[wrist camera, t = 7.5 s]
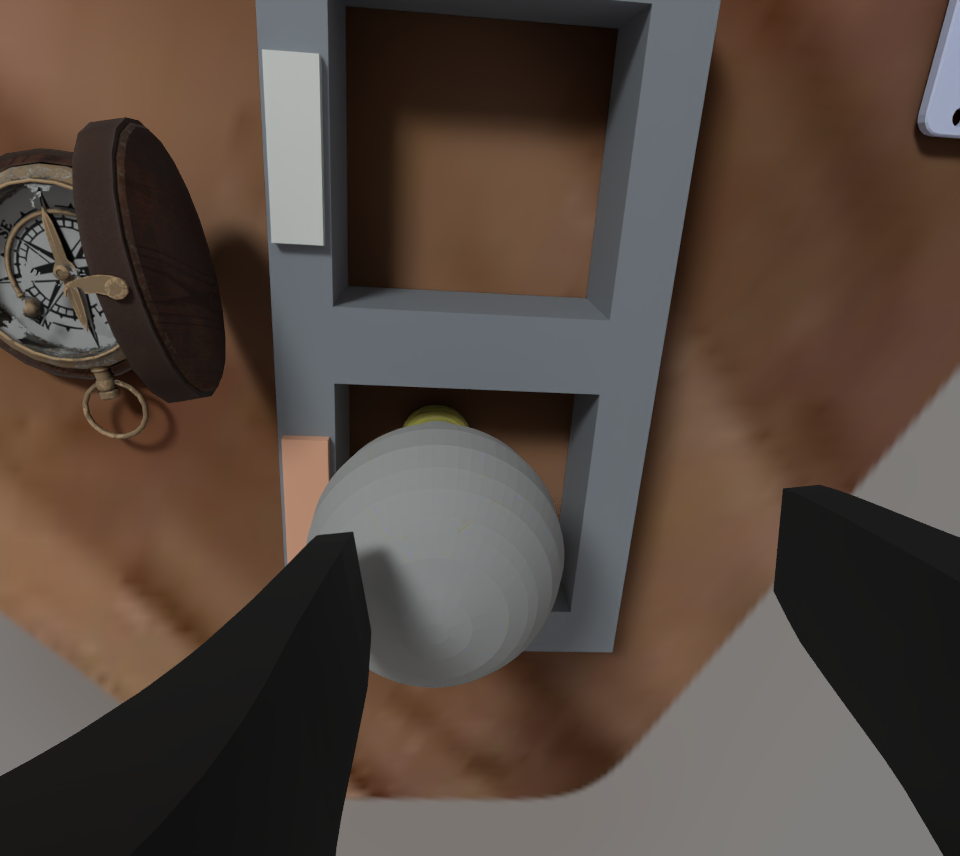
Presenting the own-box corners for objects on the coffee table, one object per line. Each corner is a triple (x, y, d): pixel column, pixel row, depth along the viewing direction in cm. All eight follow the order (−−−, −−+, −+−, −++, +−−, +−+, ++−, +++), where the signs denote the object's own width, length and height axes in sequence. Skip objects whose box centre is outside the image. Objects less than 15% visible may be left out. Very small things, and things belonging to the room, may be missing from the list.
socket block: (684, -35, 17) (738, -78, 14) (592, 595, 24) (614, 658, 21) (282, -71, 16) (245, -125, 13) (307, 589, 23) (286, 654, 20)
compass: (-78, 169, 18) (-393, 174, 11) (216, 124, 18) (79, 102, 11) (37, 443, 21) (-156, 578, 14) (289, 404, 21) (217, 521, 14)
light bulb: (522, 501, 22) (581, 742, 13) (357, 507, 22) (297, 757, 13) (524, 341, 20) (595, 491, 11) (343, 346, 20) (260, 503, 11)
